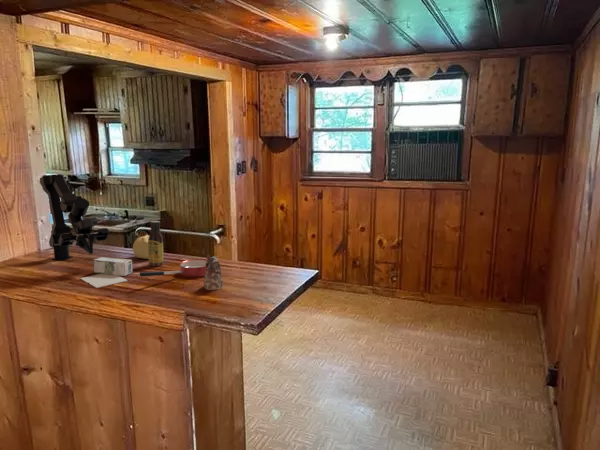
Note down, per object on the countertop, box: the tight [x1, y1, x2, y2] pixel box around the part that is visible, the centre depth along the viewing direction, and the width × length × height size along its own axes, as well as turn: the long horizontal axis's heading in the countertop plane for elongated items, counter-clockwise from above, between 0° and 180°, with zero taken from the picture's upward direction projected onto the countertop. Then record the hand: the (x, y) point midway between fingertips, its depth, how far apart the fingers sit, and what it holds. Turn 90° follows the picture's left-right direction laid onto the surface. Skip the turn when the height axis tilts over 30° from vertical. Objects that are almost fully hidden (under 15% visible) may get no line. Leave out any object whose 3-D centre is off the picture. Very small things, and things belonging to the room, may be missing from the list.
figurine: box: [203, 255, 224, 291], centre depth 163 cm, size 7×7×12 cm
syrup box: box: [93, 256, 133, 277], centre depth 179 cm, size 6×6×14 cm
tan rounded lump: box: [132, 234, 150, 260], centre depth 204 cm, size 11×12×11 cm
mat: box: [80, 273, 129, 289], centre depth 171 cm, size 16×12×1 cm
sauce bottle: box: [148, 220, 164, 267], centre depth 191 cm, size 7×6×20 cm
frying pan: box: [139, 258, 210, 279], centre depth 173 cm, size 32×13×6 cm, turn 148°
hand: (91, 253), depth 176 cm, fingers closed
